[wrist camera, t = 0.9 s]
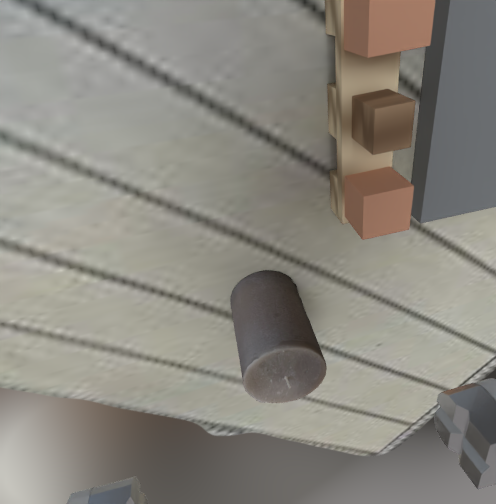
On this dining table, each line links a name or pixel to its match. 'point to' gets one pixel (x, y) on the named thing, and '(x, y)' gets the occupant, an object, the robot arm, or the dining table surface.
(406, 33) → the block
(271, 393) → the pillar candle
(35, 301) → the dining table surface
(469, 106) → the dock
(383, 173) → the block
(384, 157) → the pallet
